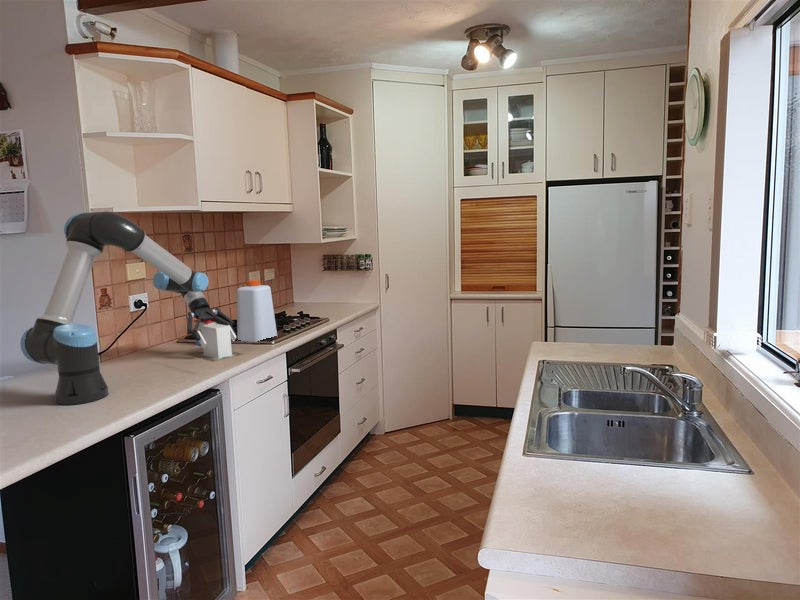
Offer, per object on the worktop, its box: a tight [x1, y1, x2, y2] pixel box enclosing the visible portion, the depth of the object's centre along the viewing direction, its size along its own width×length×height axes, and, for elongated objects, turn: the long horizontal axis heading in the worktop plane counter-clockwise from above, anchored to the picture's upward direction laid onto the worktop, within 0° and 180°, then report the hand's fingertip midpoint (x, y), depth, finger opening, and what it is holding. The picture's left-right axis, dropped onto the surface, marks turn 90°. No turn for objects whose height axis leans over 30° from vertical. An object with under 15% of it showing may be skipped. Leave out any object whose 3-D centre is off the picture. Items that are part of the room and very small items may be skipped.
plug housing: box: [201, 323, 233, 358], centre depth 238 cm, size 6×11×12 cm, turn 49°
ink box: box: [193, 316, 216, 346], centre depth 266 cm, size 8×5×15 cm, turn 62°
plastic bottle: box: [236, 279, 278, 342], centre depth 267 cm, size 15×15×28 cm
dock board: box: [192, 351, 244, 362], centre depth 239 cm, size 14×16×1 cm
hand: (220, 342), depth 236 cm, fingers open, 13 cm apart
